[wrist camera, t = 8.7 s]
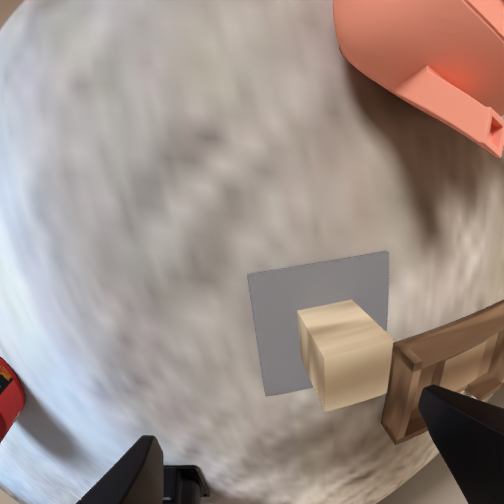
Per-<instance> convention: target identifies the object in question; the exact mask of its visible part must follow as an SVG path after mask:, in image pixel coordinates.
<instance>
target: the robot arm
mask: <svg viewBox="0 0 504 504" xmlns="http://www.w3.org/2000/svg"><path fill="white" fill-rule="evenodd" d="M418 409H419V411H420V414H421V416H422V418H423V420H424V422H425V425H426V427H427V429H428V431H429V433H430V436H431V438H432V440H433V442H434V444H435V445H436V447H437V449H438V450H439V452H440V454H441V455H442V457H443V459H444V461H445V462H446V464H447V466H448V468H449V469H450V471H451V473H452V475H453V476H454V478H455V480H456V482H457V484H458V485H459V487H460V489H461V491H462V493H463V494H464V496H465V498H466V500H467V502H468V504H504V408H501V407H498V406H495V405H492V404H489V403H486V402H483V401H480V400H477V399H474V398H471V397H468V396H465V395H463V394H460V393H457V392H454V391H452V390H449V389H446V388H443V387H441V386H438V385H435V384H431V385H428V386H426V387H424V388H423V389H422V392H421V396H420V399H419V402H418ZM209 496H210V492H209V490H208V488H207V486H206V484H205V482H204V481H203V479H202V477H201V475H200V473H199V471H198V469H197V467H195V466H163V451H162V449H161V447H160V445H159V443H158V441H157V438H156V437H155V436H152V435H143V436H141V437H140V438H139V439H138V441H137V442H136V443H135V444H134V445H133V446H132V447H131V448H130V449H129V450H128V451H127V452H126V453H125V454H124V455H123V456H122V457H121V459H120V460H119V461H118V462H117V463H116V464H115V465H114V466H113V467H112V468H111V469H110V470H109V471H108V472H107V473H106V474H105V475H104V476H103V477H102V478H101V479H100V480H99V481H98V482H97V483H96V484H95V485H94V486H93V487H92V488H91V489H90V490H89V491H88V492H87V493H86V494H85V495H84V496H83V497H82V498H81V500H79V501H78V502H77V503H76V504H200V500H201V497H209Z"/></svg>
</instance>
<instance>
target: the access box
mask: <svg viewBox="0 0 504 504" xmlns="http://www.w3.org/2000/svg"><path fill="white" fill-rule="evenodd" d="M431 384H435V385H438V386H441V387H443V388H446V389H449V390H452V391H454V392H457V393H459V392H461V391H463V390H465V389H467V390H468V391H469V392H470V393H471V394H472V395H473V396H474V397H475V398H477V399H478V400H480V401H482V400H484V399H485V398H487V397H488V396H490V395H491V394H493V393H494V392H496V391H497V390H498V389H500V388H501V387H503V386H504V300H502V301H500V302H498V303H496V304H493V305H491V306H489V307H487V308H485V309H482V310H480V311H478V312H476V313H473V314H471V315H468V316H466V317H464V318H461V319H459V320H456V321H454V322H451V323H449V324H446V325H443V326H441V327H438V328H435V329H433V330H430V331H427V332H424V333H422V334H419V335H416V336H413V337H410V338H407V339H404V340H401V341H398V342H394V343H393V348H392V358H391V366H390V374H389V381H388V388H387V393H386V399H385V405H384V410H383V415H382V420H381V424H382V425H383V427H384V428H385V430H386V432H387V433H388V435H389V436H390V438H391V439H392V441H393V443H394V444H395V445H397V444H399V443H402V442H404V441H406V440H409V439H411V438H413V437H415V436H417V435H420V434H422V433H424V432H426V431H428V429H427V427H426V425H425V422H424V420H423V418H422V416H421V414H420V411H419V409H418V402H419V399H420V396H421V392H422V389H423V388H424V387H426V386H428V385H431Z"/></svg>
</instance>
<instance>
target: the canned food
mask: <svg viewBox="0 0 504 504" xmlns="http://www.w3.org/2000/svg"><path fill="white" fill-rule="evenodd" d="M24 404H25V394H24V391H23V388H22V386H21V383H20V381H19V379H18V378H17V376H16V375H15V373H14V372H13V370H12V369H11V368H10V366H9V365H8V364H7V363H6V362H5V361H4V360H3V359H2V358H1V357H0V443H1V441H2V440H3V438H4V437H5V435H6V434H7V432H8V431H9V429H10V428H11V426H12V425H13V423H14V422H15V421H16V419H17V418H18V416H19V415H20V413H21V412H22V410H23V408H24Z"/></svg>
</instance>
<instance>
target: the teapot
mask: <svg viewBox="0 0 504 504" xmlns="http://www.w3.org/2000/svg"><path fill="white" fill-rule="evenodd" d="M333 14H334V24H335V30H336V36H337V39H338V42H339V49H340V52H341V54H342V55H343V57H344V58H345V59H346V60H347V61H349V62H350V63H351V64H352V65H353V66H354V67H355V68H356V69H358V70H359V71H360V72H362V73H363V74H364V75H366V76H367V77H369V78H370V79H372V80H373V81H375V82H376V83H378V84H379V85H381V86H382V87H384V88H385V89H387V90H388V91H390V92H391V93H393V94H395V95H396V96H398V97H399V98H401V99H402V100H404V101H406V102H408V103H409V104H411V105H412V106H414V107H416V108H418V109H419V110H421V111H423V112H425V113H426V114H428V115H430V116H432V117H434V118H436V119H438V120H439V121H441V122H443V123H445V124H446V125H448V126H450V127H451V128H453V129H455V130H456V131H458V132H459V133H461V134H463V135H464V136H466V137H467V138H469V139H470V140H472V141H473V142H475V143H476V144H478V145H479V146H481V147H482V148H484V149H485V150H486V151H488V152H489V153H491V154H492V155H493V156H495V157H496V158H501V156H502V152H503V147H504V120H503V119H502V118H501V116H503V115H504V0H333Z"/></svg>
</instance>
